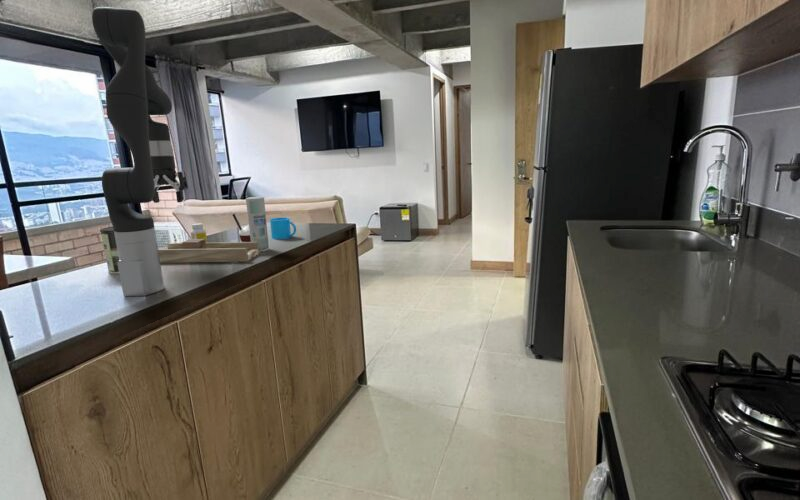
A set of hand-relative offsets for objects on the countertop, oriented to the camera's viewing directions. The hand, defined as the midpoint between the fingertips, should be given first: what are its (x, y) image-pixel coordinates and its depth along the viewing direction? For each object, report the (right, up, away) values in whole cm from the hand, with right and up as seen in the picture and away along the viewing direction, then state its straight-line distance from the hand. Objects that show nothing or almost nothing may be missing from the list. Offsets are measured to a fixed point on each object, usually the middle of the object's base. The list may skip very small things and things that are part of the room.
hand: (168, 202), depth 147 cm
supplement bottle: (+2, -16, +20) cm, 26 cm away
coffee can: (-9, -23, -9) cm, 26 cm away
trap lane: (+12, -20, +4) cm, 23 cm away
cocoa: (+17, -14, +29) cm, 36 cm away
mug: (+31, -11, +37) cm, 49 cm away
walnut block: (+8, -18, +3) cm, 20 cm away
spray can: (+28, -17, +14) cm, 35 cm away
